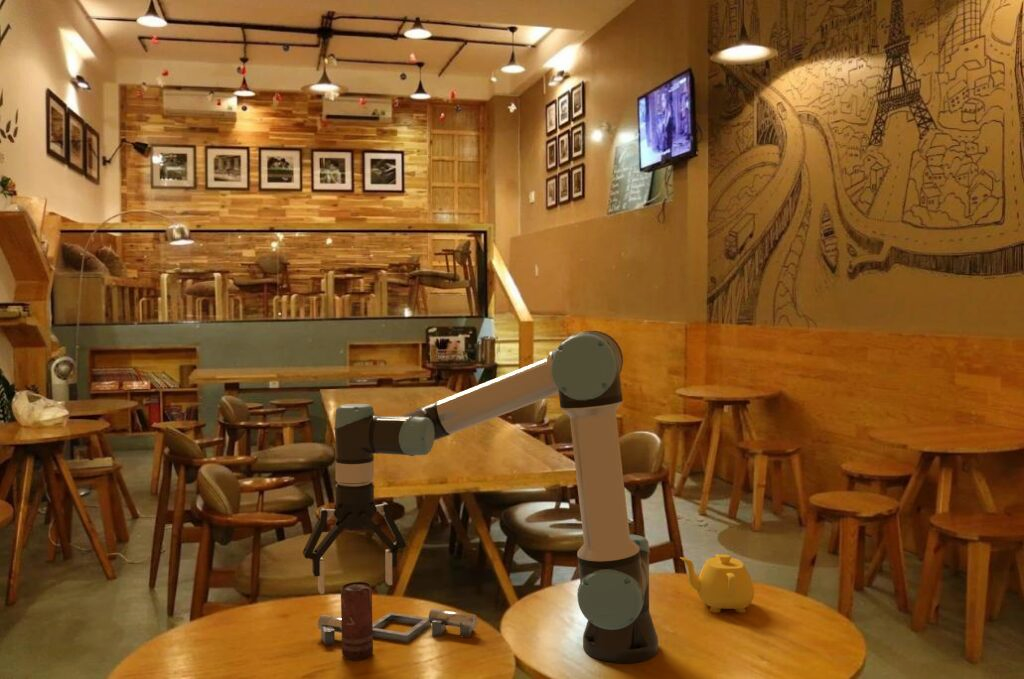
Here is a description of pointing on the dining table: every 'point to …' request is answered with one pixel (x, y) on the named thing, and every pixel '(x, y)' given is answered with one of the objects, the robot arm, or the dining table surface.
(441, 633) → the coupling rig
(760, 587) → the dining table surface
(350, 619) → the can
